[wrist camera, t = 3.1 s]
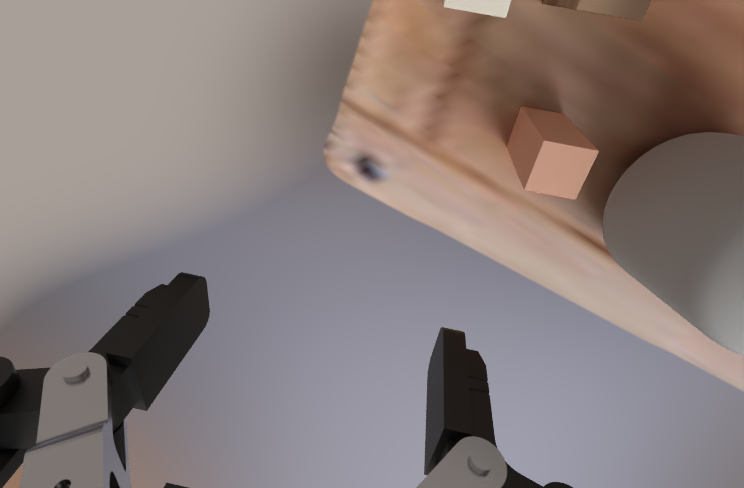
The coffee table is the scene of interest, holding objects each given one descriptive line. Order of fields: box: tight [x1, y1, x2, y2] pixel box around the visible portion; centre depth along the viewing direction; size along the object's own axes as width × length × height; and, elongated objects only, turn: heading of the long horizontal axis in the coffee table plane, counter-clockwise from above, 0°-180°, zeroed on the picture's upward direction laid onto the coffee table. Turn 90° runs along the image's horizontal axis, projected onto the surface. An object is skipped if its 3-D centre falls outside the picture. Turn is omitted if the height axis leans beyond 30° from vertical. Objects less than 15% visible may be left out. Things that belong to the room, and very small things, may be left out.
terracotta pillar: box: [507, 106, 599, 200], centre depth 34 cm, size 4×4×10 cm
